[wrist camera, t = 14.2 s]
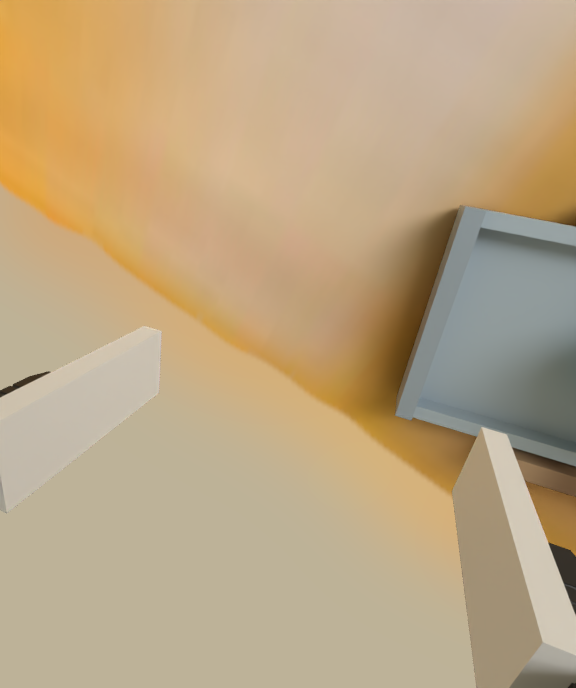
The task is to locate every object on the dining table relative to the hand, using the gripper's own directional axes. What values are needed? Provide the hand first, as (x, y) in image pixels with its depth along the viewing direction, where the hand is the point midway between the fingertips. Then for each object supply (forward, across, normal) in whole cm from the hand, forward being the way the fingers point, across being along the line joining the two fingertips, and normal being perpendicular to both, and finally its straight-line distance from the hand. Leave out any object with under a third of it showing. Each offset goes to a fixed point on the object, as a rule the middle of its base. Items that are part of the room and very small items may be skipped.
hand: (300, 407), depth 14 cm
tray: (+18, +16, 0) cm, 24 cm away
